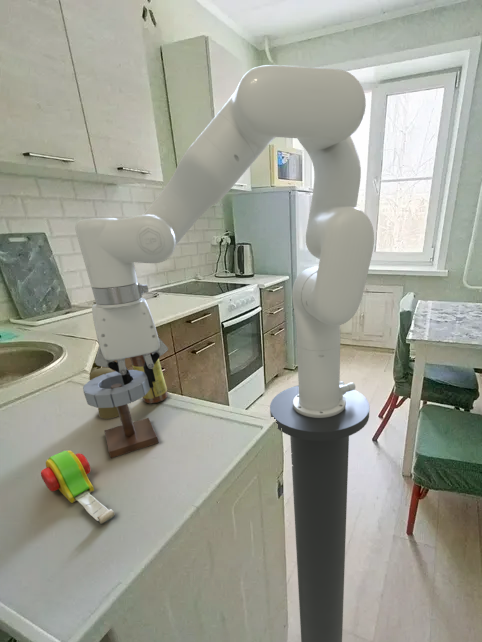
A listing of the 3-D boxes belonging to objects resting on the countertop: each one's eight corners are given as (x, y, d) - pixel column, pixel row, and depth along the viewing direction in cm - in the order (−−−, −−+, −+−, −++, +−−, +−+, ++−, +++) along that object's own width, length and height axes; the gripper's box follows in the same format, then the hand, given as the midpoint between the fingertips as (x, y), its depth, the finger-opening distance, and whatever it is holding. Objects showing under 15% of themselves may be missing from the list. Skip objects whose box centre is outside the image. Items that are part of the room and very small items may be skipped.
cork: (107, 421, 80) (93, 377, 75) (94, 414, 84) (80, 371, 79) (131, 410, 85) (120, 368, 80) (118, 403, 88) (106, 362, 83)
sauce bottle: (168, 391, 93) (151, 317, 84) (169, 401, 87) (151, 324, 79) (142, 396, 91) (122, 321, 82) (141, 407, 86) (120, 328, 77)
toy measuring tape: (76, 463, 67) (65, 434, 64) (128, 509, 55) (118, 477, 52) (39, 482, 62) (25, 451, 60) (87, 536, 51) (73, 502, 48)
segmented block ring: (143, 376, 75) (141, 365, 74) (154, 396, 67) (151, 384, 65) (85, 390, 70) (81, 378, 69) (89, 414, 62) (84, 401, 61)
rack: (150, 423, 79) (136, 372, 73) (158, 442, 72) (144, 387, 66) (106, 436, 75) (88, 383, 69) (110, 458, 68) (92, 401, 62)
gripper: (160, 285, 69) (177, 371, 77) (65, 298, 62) (94, 391, 70) (169, 291, 63) (186, 384, 71) (65, 306, 56) (97, 407, 64)
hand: (141, 387), depth 70 cm, fingers closed on segmented block ring, 3 cm apart
